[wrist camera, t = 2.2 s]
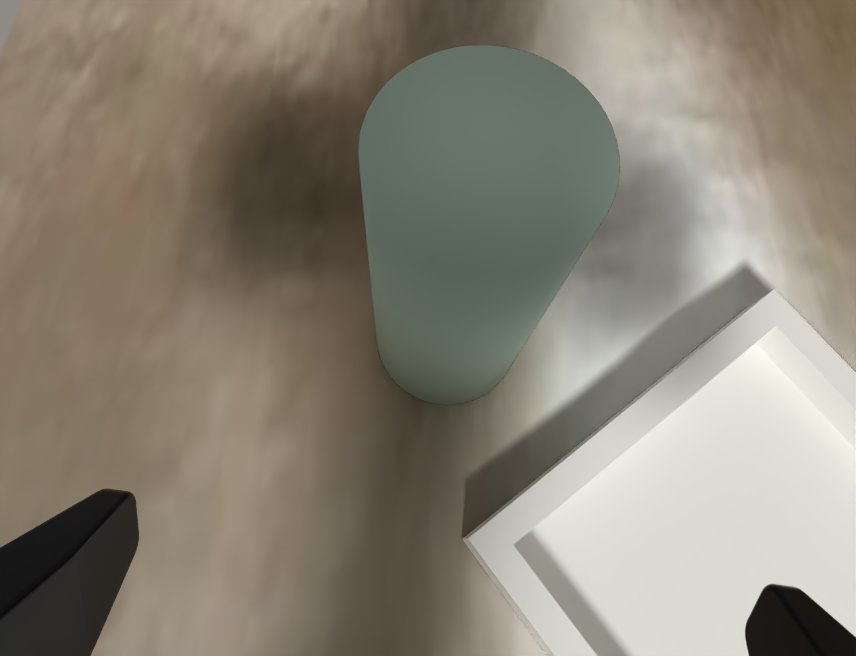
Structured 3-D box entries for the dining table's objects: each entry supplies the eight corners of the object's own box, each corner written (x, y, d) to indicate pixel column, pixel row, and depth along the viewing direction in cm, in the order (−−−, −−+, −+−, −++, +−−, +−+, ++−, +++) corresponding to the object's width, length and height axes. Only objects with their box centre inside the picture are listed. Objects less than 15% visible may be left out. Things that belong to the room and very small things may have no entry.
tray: (761, 944, 19) (801, 989, 17) (461, 539, 22) (467, 538, 20) (1043, 622, 22) (1103, 629, 20) (746, 308, 25) (774, 288, 23)
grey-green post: (433, 433, 23) (468, 325, 12) (348, 322, 24) (306, 125, 13) (544, 349, 24) (673, 177, 13) (458, 246, 26) (507, 6, 14)
